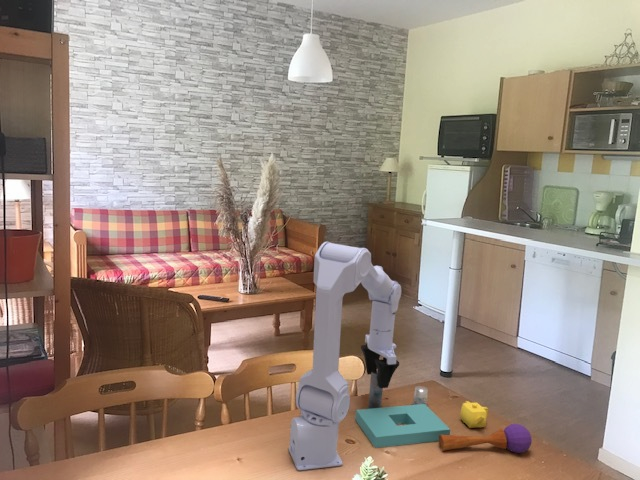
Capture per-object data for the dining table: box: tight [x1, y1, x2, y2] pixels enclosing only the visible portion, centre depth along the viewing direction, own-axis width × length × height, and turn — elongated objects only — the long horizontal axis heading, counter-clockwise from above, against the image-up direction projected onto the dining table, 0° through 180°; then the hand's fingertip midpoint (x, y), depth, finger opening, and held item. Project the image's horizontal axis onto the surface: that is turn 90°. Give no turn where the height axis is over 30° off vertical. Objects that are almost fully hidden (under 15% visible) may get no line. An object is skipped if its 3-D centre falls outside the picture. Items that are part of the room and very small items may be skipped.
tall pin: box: [367, 370, 384, 409], centre depth 130 cm, size 3×3×9 cm
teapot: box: [459, 400, 489, 429], centre depth 125 cm, size 8×6×5 cm
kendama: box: [438, 423, 533, 454], centre depth 115 cm, size 6×6×20 cm
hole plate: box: [354, 404, 451, 449], centre depth 121 cm, size 18×12×2 cm, turn 107°
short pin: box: [412, 385, 429, 406], centre depth 133 cm, size 3×3×4 cm
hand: (377, 380), depth 130 cm, fingers open, 7 cm apart
